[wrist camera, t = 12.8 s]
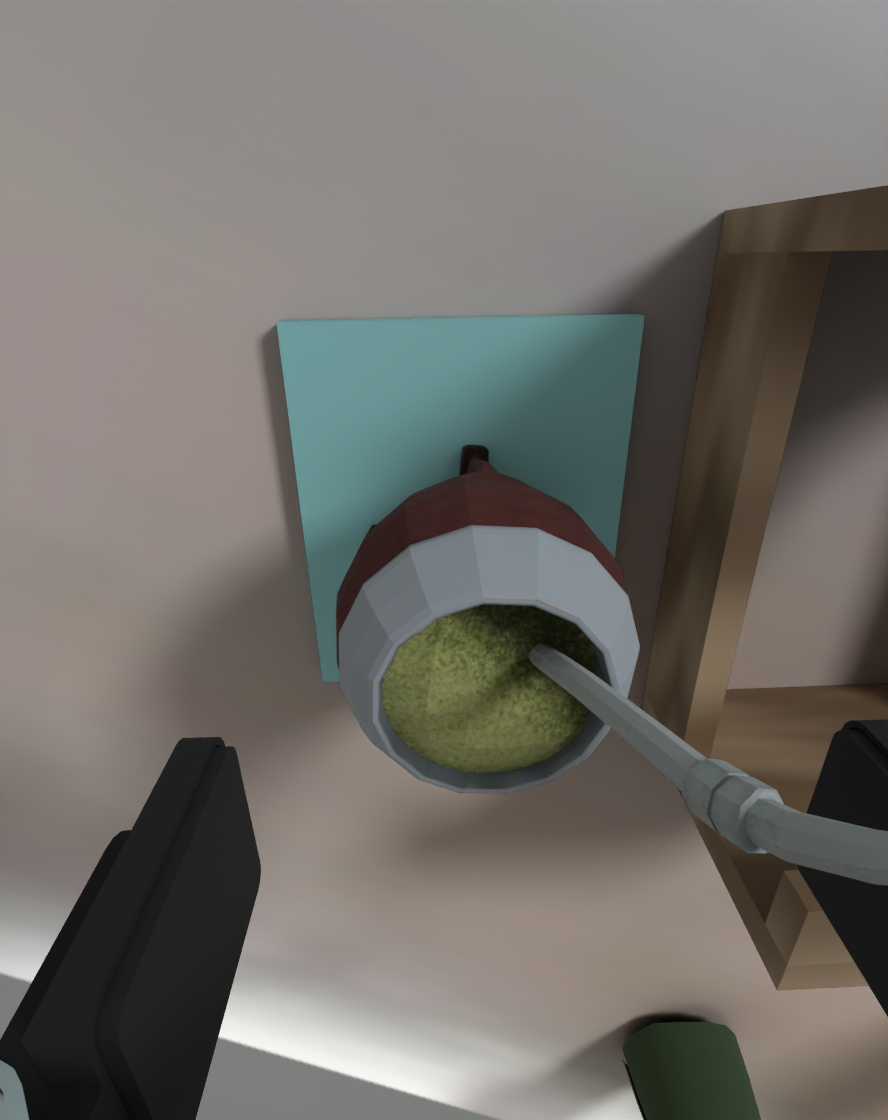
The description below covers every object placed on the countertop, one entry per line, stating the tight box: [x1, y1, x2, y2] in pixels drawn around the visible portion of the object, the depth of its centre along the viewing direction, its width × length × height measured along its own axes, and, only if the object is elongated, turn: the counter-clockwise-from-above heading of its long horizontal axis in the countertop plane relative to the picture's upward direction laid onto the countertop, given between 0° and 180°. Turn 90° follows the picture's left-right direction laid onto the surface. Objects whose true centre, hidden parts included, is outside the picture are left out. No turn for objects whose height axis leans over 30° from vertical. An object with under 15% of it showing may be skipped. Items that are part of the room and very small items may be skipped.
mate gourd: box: [336, 444, 888, 885], centre depth 12 cm, size 8×8×15 cm
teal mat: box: [276, 314, 645, 682], centre depth 19 cm, size 12×10×1 cm
